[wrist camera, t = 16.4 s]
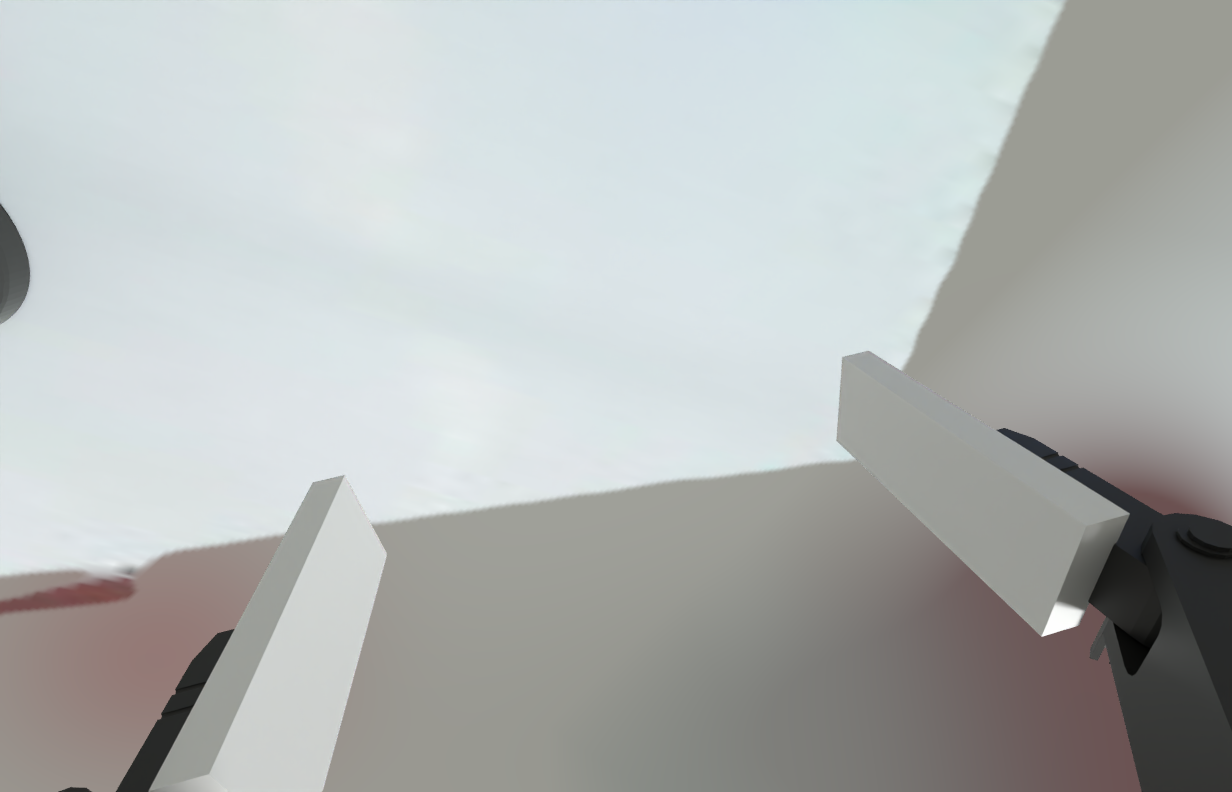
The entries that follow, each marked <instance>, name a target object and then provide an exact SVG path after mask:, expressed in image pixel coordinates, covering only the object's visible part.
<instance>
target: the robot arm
mask: <svg viewBox="0 0 1232 792" xmlns="http://www.w3.org/2000/svg"><path fill="white" fill-rule="evenodd" d="M29 280H30V268H29V261H28V257H27V253H26V250H25V247H24V244H23V241H22V239H21V237H20V235H19V233H18V231H17V229H16V227H15V226H14V224H13V222H12V221H11V219H10V218H9V216H8V215H7V213H6V212H5V210H4V209H3V208H2V207H1V205H0V324H2V323H3V322H5V321H6V320H8V319H9V318H10V317H11V316H12V315H13V314H14V313H15V312H16V311H17V310H18V309H19V307H20V306H21V304H22V303H23V301H24V299H25V297H26V294H27V291H28V287H29ZM837 442H838V443H839V444H840V445H842V446H843V447H844V448H845V449H846V450H847V451H848V452H849V453H850V454H851V455H852V456H853V457H854V458H855V459H856V460H857V461H858V462H859V463H860V464H861V465H862V466H864V467H865V468H866V469H867V470H868V471H869V472H870V473H871V474H872V475H873V476H874V477H875V478H876V479H877V480H878V481H879V482H880V483H881V484H882V485H883V486H885V487H886V488H887V489H888V490H889V491H890V492H891V493H892V494H893V495H894V496H895V497H896V498H897V499H898V500H899V501H900V502H901V503H902V504H903V505H904V506H906V508H908V509H909V510H910V511H911V512H912V513H913V514H914V515H915V516H916V517H917V518H918V519H919V520H920V521H921V522H922V523H923V524H925V526H926V527H927V528H928V529H930V530H931V531H932V532H933V533H934V534H935V535H936V536H937V537H938V538H939V539H940V540H941V541H942V542H943V543H944V544H945V545H946V546H947V547H948V548H949V549H950V550H952V551H953V552H954V553H955V554H956V555H957V556H958V557H959V558H960V559H961V560H962V561H963V562H964V563H965V564H966V565H967V566H968V567H969V568H970V569H972V571H974V572H975V573H976V574H977V575H978V576H979V577H980V578H981V579H982V580H983V581H984V582H985V583H986V584H987V585H988V586H989V587H990V588H991V589H992V590H993V591H995V592H996V593H997V594H998V595H999V596H1000V597H1001V598H1002V599H1003V600H1004V601H1005V602H1006V603H1007V604H1008V605H1009V606H1010V607H1011V608H1012V609H1013V610H1014V611H1015V612H1016V613H1018V614H1019V615H1020V616H1021V617H1022V618H1023V619H1024V620H1025V621H1026V622H1027V623H1028V624H1029V625H1030V626H1031V627H1032V628H1033V629H1034V630H1035V631H1036V632H1037V633H1038V634H1040V635H1041V636H1045V635H1048V634H1052V633H1055V632H1058V631H1062V630H1065V629H1068V628H1071V627H1074V626H1078V625H1079V624H1080V622H1081V620H1082V617H1083V615H1084V613H1085V611H1086V609H1087V606H1088V604H1089V603H1091V604H1092V605H1093V606H1094V607H1095V608H1097V609H1098V610H1099V611H1100V612H1102V613H1103V614H1104V615H1105V616H1106V618H1105V620H1104V622H1103V624H1102V626H1101V628H1100V630H1099V632H1098V634H1097V636H1096V638H1095V641H1094V642H1093V644H1092V647H1091V649H1090V658H1091V659H1095V660H1098V659H1099V657H1100V655H1101V653H1102V651H1103V649H1104V648H1105V647H1106V648H1107V652H1108V656H1109V660H1110V662H1109V664H1111V668H1112V672H1113V676H1114V681H1115V685H1116V688H1117V692H1118V697H1119V701H1120V705H1121V709H1122V713H1123V717H1124V721H1125V725H1126V729H1127V734H1128V738H1129V742H1130V746H1131V750H1132V754H1133V758H1134V762H1135V766H1136V770H1137V774H1138V778H1139V782H1140V786H1141V790H1142V792H1232V526H1230V525H1228V524H1226V523H1223V522H1221V521H1218V520H1214V519H1210V518H1206V517H1202V516H1198V515H1192V514H1179V513H1174V514H1168V515H1162V514H1160V513H1158V512H1157V511H1155V510H1153V509H1151V508H1150V507H1148V506H1147V505H1145V504H1143V503H1142V502H1140V501H1138V500H1136V499H1135V498H1133V497H1132V496H1130V495H1128V494H1126V493H1125V492H1123V491H1121V490H1120V489H1118V488H1116V487H1115V486H1113V485H1111V484H1110V483H1108V482H1106V481H1105V480H1103V479H1101V478H1100V477H1098V476H1096V475H1095V474H1093V473H1091V472H1090V471H1088V470H1086V469H1084V468H1079V467H1078V464H1076V463H1074V462H1073V461H1071V460H1069V459H1067V458H1066V457H1064V456H1059V455H1058V452H1056V451H1054V450H1052V449H1051V448H1049V447H1047V446H1046V445H1044V444H1042V443H1041V442H1039V441H1037V440H1036V439H1034V438H1031V437H1028V436H1026V435H1023V434H1019V433H1017V432H1014V431H1011V430H1008V429H1006V428H1003V429H999V430H995V429H993V428H992V427H990V426H988V425H987V424H985V423H984V422H982V421H980V420H978V419H977V418H976V417H974V416H972V415H971V414H969V413H968V412H966V411H964V410H963V409H961V408H959V407H958V406H956V405H955V404H953V403H952V402H950V401H948V400H947V399H945V398H944V397H942V396H940V395H939V394H937V393H936V392H934V391H932V390H931V389H929V388H928V387H926V386H924V385H923V384H921V383H919V382H918V381H916V380H915V379H913V378H911V377H910V376H908V375H907V374H905V373H903V372H902V371H900V370H899V369H897V368H895V367H894V366H892V365H891V364H889V363H887V362H886V361H884V360H883V359H881V358H879V357H878V356H876V355H875V354H873V353H871V352H870V351H866V352H862V353H858V354H853V355H849V356H845V357H842V370H841V384H840V398H839V412H838V426H837ZM386 556H387V553H386V551H385V550H384V548H383V546H382V544H381V542H380V540H379V538H378V536H377V535H376V533H375V531H374V529H373V527H372V525H371V523H370V521H369V519H368V518H367V516H366V514H365V512H364V510H363V508H362V506H361V504H360V503H359V501H358V499H357V497H356V495H355V493H354V491H353V489H352V488H351V486H350V484H349V482H348V480H347V478H346V476H345V475H343V476H339V477H335V478H330V479H326V480H322V481H318V482H313V483H312V485H311V487H310V489H309V491H308V493H307V495H306V496H305V498H304V500H303V502H302V504H301V506H300V508H299V510H298V511H297V513H296V515H295V517H294V519H293V521H292V523H291V525H290V526H289V528H288V530H287V532H286V534H285V536H284V538H283V540H282V542H281V544H280V545H279V547H278V549H277V551H276V553H275V555H274V556H273V558H272V560H271V562H270V564H269V566H268V568H267V570H266V571H265V573H264V575H263V577H262V579H261V581H260V583H259V585H258V586H257V588H256V590H255V592H254V594H253V596H252V598H251V600H250V602H249V603H248V606H247V607H246V609H245V611H244V613H243V615H242V617H241V619H240V620H239V622H238V624H237V626H236V628H235V629H233V630H229V631H225V632H221V633H218V634H217V635H215V637H214V638H213V639H212V640H211V641H210V642H209V643H208V644H207V645H206V646H205V647H204V648H203V650H202V651H201V652H200V653H199V654H198V655H197V656H196V657H195V658H194V659H193V660H192V662H191V664H190V665H189V667H188V669H187V670H186V672H185V674H184V675H183V677H182V679H181V681H180V683H179V684H178V686H177V687H176V689H175V690H176V694H175V695H172V696H171V698H170V700H169V701H168V703H167V705H166V707H165V708H164V710H163V712H162V713H161V715H162V718H161V719H160V720H157V722H156V724H155V726H154V727H153V729H152V731H151V732H150V734H149V736H148V738H147V739H146V741H145V743H144V745H143V746H142V748H141V749H140V751H139V753H138V755H137V756H136V758H135V760H134V761H133V763H132V765H131V767H130V768H129V770H128V772H127V774H126V775H125V777H124V779H123V780H122V782H121V784H120V786H119V787H118V789H117V791H116V792H323V788H324V784H325V781H326V777H327V773H328V769H329V766H330V762H331V758H332V754H333V751H334V747H335V743H336V740H337V736H338V733H339V729H340V725H341V722H342V718H343V714H344V711H345V707H346V703H347V700H348V696H349V692H350V689H351V685H352V681H353V678H354V673H355V670H356V667H357V663H358V659H359V655H360V652H361V648H362V645H363V641H364V637H365V633H366V630H367V626H368V622H369V619H370V615H371V611H372V608H373V604H374V600H375V597H376V593H377V589H378V586H379V582H380V578H381V575H382V571H383V567H384V563H385V560H386ZM59 792H91V791H90V790H89V789H87V788H73V787H70V788H67V789H65V790H62V791H59Z"/></svg>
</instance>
